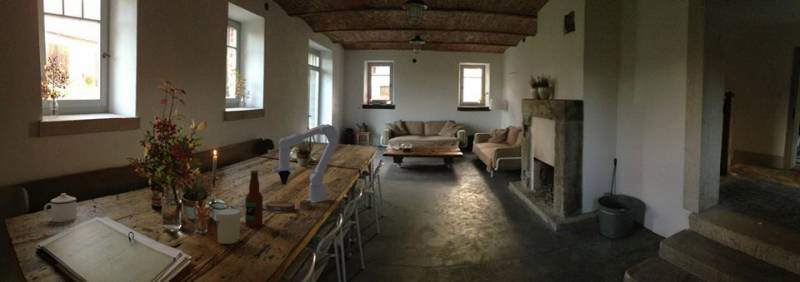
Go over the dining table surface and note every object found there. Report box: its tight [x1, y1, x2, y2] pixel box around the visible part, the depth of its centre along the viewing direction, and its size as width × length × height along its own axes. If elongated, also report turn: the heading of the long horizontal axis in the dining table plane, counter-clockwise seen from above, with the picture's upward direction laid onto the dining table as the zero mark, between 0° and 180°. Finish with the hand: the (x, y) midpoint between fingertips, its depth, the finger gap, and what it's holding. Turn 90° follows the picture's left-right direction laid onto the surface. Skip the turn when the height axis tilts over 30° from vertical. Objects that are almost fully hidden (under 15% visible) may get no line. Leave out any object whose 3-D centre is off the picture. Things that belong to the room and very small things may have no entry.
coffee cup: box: [215, 208, 242, 245], centre depth 170 cm, size 9×9×12 cm
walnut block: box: [299, 199, 312, 211], centre depth 223 cm, size 4×4×4 cm
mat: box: [263, 204, 291, 215], centre depth 219 cm, size 8×18×1 cm, turn 50°
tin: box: [265, 200, 296, 212], centre depth 218 cm, size 15×3×8 cm
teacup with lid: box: [43, 192, 78, 223], centre depth 186 cm, size 12×9×12 cm
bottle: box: [244, 169, 264, 228], centre depth 190 cm, size 7×7×25 cm
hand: (283, 184), depth 232 cm, fingers closed
